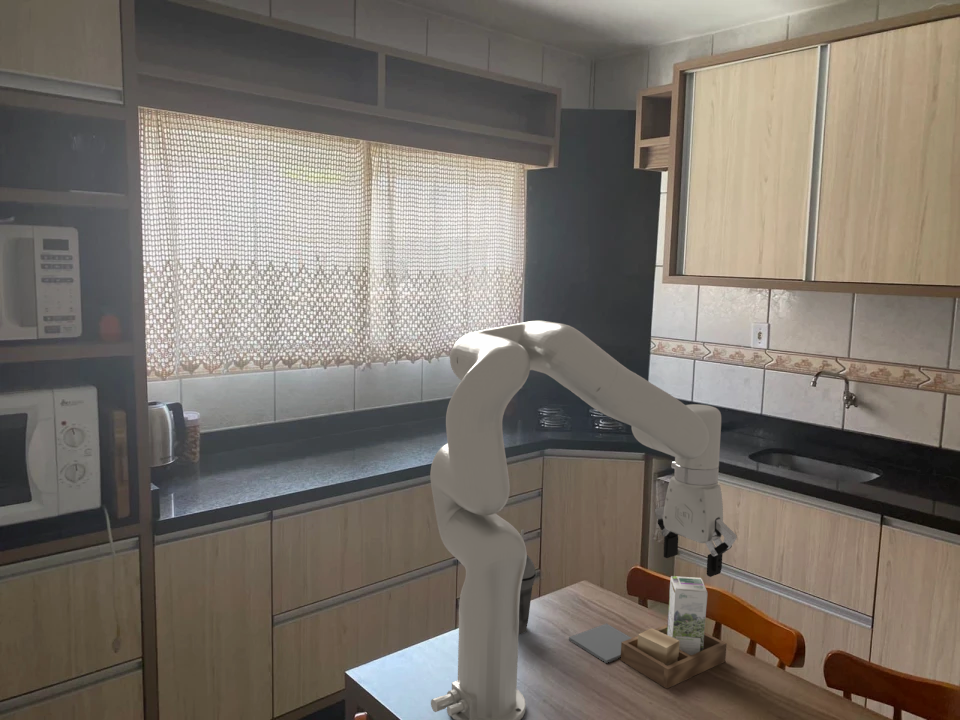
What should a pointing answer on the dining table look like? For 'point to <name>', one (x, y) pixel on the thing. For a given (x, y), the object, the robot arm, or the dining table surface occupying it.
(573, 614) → the dining table surface
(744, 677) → the dining table surface
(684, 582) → the syrup box
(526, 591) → the beverage cup
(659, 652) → the offcut upper
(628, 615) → the dining table surface
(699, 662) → the divided wooden tray
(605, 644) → the plate
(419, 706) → the dining table surface
